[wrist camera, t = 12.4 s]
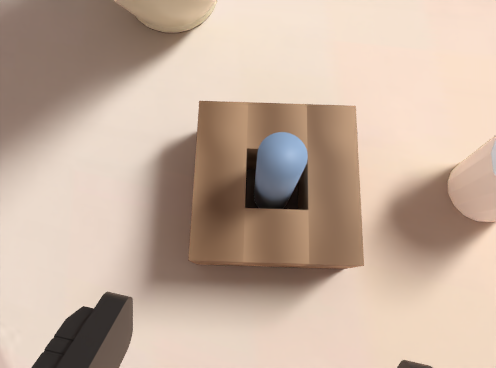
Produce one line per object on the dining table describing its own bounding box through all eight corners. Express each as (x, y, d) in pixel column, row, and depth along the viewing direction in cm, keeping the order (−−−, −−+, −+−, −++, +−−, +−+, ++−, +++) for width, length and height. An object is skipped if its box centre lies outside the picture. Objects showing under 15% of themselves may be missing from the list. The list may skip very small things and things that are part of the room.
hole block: (339, 131, 33) (355, 105, 29) (344, 268, 30) (364, 265, 25) (205, 127, 33) (199, 100, 29) (196, 264, 30) (188, 260, 25)
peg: (288, 179, 32) (307, 132, 23) (288, 213, 31) (307, 180, 22) (254, 178, 32) (258, 131, 23) (253, 212, 31) (256, 178, 22)
